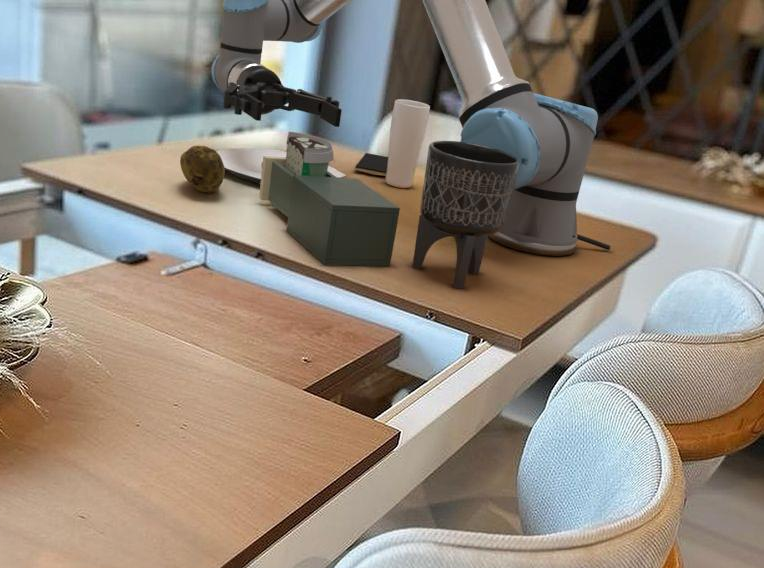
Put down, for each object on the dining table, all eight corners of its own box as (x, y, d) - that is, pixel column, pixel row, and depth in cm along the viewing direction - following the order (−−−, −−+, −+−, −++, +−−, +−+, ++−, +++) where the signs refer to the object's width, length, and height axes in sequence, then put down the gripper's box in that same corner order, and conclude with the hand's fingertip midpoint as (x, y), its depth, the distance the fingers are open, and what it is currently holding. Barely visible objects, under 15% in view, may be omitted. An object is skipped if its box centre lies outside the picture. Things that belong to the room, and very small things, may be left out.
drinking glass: (422, 189, 195) (437, 108, 187) (394, 190, 191) (409, 106, 184) (401, 180, 199) (415, 99, 192) (374, 180, 196) (387, 98, 188)
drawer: (249, 189, 171) (253, 148, 168) (300, 192, 175) (305, 151, 172) (289, 224, 157) (294, 180, 153) (344, 226, 160) (351, 183, 157)
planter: (395, 275, 146) (417, 148, 137) (420, 255, 156) (443, 136, 147) (481, 297, 143) (510, 169, 134) (500, 275, 154) (529, 155, 145)
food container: (335, 217, 160) (344, 152, 155) (297, 215, 158) (305, 148, 153) (316, 196, 170) (324, 134, 165) (280, 193, 168) (287, 130, 163)
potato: (233, 188, 174) (237, 140, 170) (216, 205, 163) (221, 154, 159) (186, 179, 174) (189, 131, 170) (166, 196, 163) (169, 145, 159)
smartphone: (400, 159, 210) (391, 173, 197) (399, 164, 211) (390, 179, 198) (365, 152, 211) (354, 166, 198) (364, 158, 211) (354, 172, 198)
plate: (360, 187, 189) (362, 177, 188) (273, 197, 173) (274, 186, 172) (274, 156, 200) (275, 145, 199) (184, 162, 184) (185, 151, 183)
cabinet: (286, 231, 156) (293, 174, 152) (348, 233, 161) (356, 178, 156) (324, 265, 145) (332, 204, 140) (390, 266, 149) (400, 207, 145)
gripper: (318, 115, 184) (366, 144, 168) (185, 104, 174) (222, 133, 158) (323, 71, 180) (373, 96, 164) (188, 57, 170) (226, 82, 154)
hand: (299, 114), depth 161 cm, fingers open, 13 cm apart
